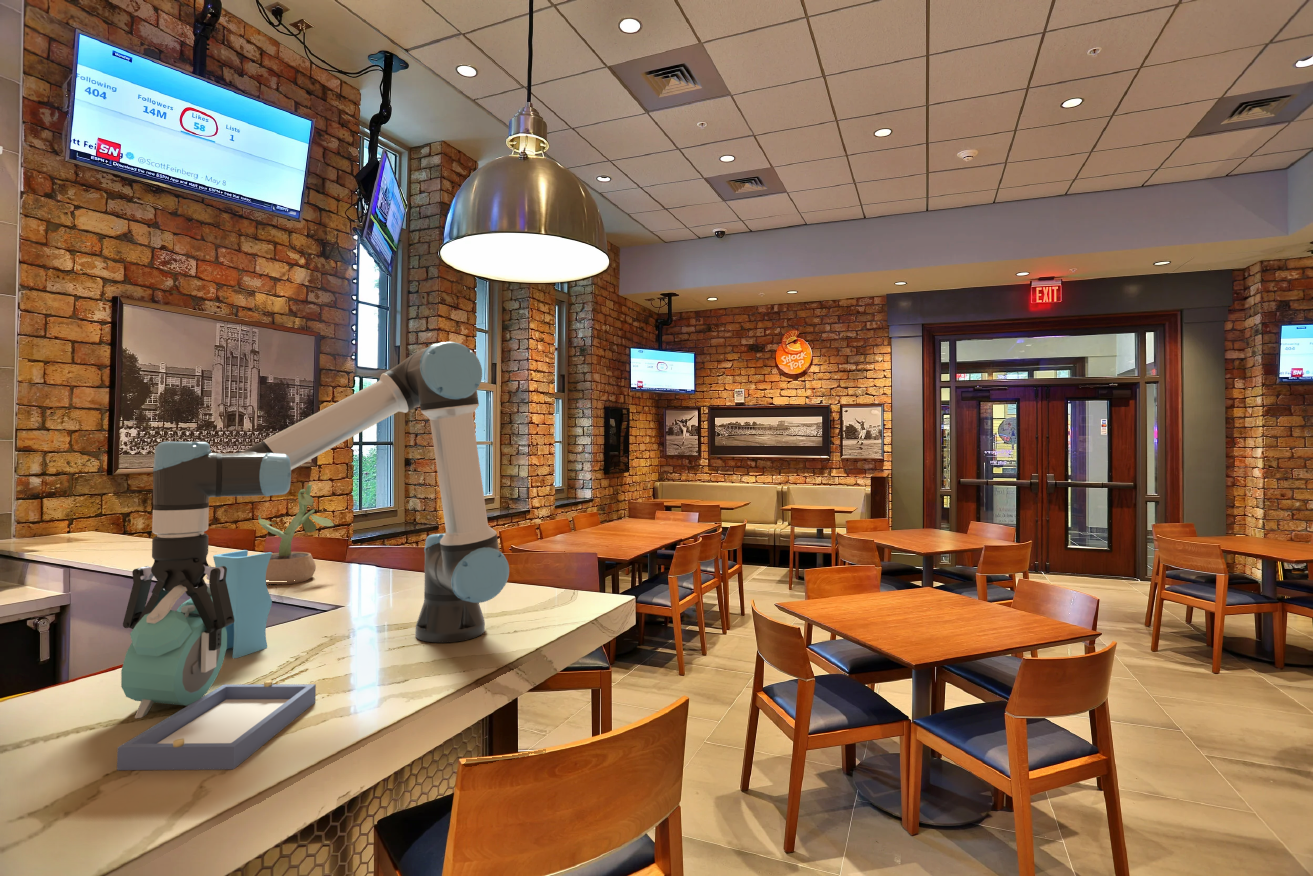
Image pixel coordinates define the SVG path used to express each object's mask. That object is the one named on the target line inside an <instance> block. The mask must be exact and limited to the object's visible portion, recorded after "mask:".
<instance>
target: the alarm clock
mask: <svg viewBox="0 0 1313 876" xmlns="http://www.w3.org/2000/svg"><path fill="white" fill-rule="evenodd" d="M206 585H207V587H208V588H207V592H208V594H209V596H210V598H211V599H212V595H211V591H210V586H209V584H207V583H206ZM197 587H199V586H198V585H197ZM197 587H194V588H197ZM186 591H187V589H186V587H183V586H182V585H178V586H176V587H174V588H173V589H172V590H171V591H170V592H169V593H168V594H167V595H166V596H165V597H164V598H163V599H162V600H161V601H160V602H159V604H158V605H157V606H156V607H155V609H154V610H153V611H152V612H151V613H149V614H146V615H144V616H143V618H142V619H141V620H140V621H139V622H138V623H137V624H136V626H135V627H134V629H131V632H130V633H129V635H130V639H131V643H130V646H129V647H128V649H127V651H126V653H125V657H124V660H123V664H122V667H121V671H120V672H121V673H120V675H121V677H120V678H121V679H120V680H121V682H120V683H121V686H120V687H121V689H122V691H123V693H124V695H125V698H128V699H130V700H133V701H136V702H140V703H139V706H138V709H137V711H136V713H135V715H134V719H141V718H143V717H145V716H146V715H148V713H149V711H150V709H151V707H152V706H153V705H154V703H155V704H167V705H176V706H185V707H187V706H188V705H190V704H192V703H193V702H195V701H197V700H199V699H200V698H202V697H204V696H205V694H206V695H207V694H208V691H209V690H210V688H211V687H212V686H213V684H214V682H215V681H216V680H217V677H218V675H219V674H220V671H221V669H222V666H223V664H224V660H225V657H226V656H225V655H226V652H227V650H228V649H227V631H226V628H225V627H224V628H222V635H221V647H220V648H219V649H217V654H216V667H215V668H213V669H211V670H209V671H207V672H201V640H202V632H204V631H206V630H207V629H206V627H205V625H204V623H203V621H202V619H201V617H200V615H199V613H198V611H197V609H196V607H195V605H194V603H193V601H192V599H191V597H190V598H189V599H187V600H186V601H184V602H183V603H181V604H180V605H179V606H178V608H177V609H176V610H173V609H172V608H173V607H174V605H175V603H176V602H177V600H178V599H179V598H181V597H182V596H183V595H184V593H185V594H186ZM212 601H213V600H212Z"/></svg>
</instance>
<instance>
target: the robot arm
mask: <svg viewBox="0 0 1313 876" xmlns="http://www.w3.org/2000/svg"><path fill="white" fill-rule="evenodd" d="M482 378H483V369H482V364H481V362H480V359H479V358H478V356H477V355H476V353H475V352H473V351H472V350H471V349H470V348H469V347H468V346H466V345H464V344H462V343H459V342H454V341H446V342H445V341H441V342H436V343H434V344H431V345H429V346H428V347H426V348H422V349H420V350H418V351H416V352H414V353H413V354H411V355H410V356H409V357H407V358H406V359H405V360H402V362H400V363H399V364H397V365H395V366H394V367H392V368H391V369H389V370H387V371H385V372H383V373H382V374H381V375H380V377H379V380H378V381H376V382H374V383H372V384H370V385H368V386H367V387H365V388H361V390H359V391H356V392H355V393H353V394H351V395H348V396H347V397H344V398H343V399H341V400H340V401H337V402H336V403H334V404H332V405H329V406H327V407H326V408H323V409H322V410H319V411H318V412H316V413H314V414H312V415H309V416H307V418H306V417H305V418H304V419H302V420H300V421H299V422H297V423H294V424H293V425H290V426H288V427H287V428H285V429H283V430H281V431H279V432H277V433H275V434H273V435H271V436H269V437H267V438H266V439H264V440H262V441H260V442H258V443H256V444H254V445H251V446H250V447H248V448H246V449H245V450H242V451H238V452H235V453H221V452H220V453H219V452H218V453H217V452H212V449H211V445H210V444H209V443H208V442H206V441H162V442H160V443H158V444H157V445H156V446H155V448H154V457H153V459H154V460H153V469H152V507H153V508H152V523H151V524H152V527H151V533H153V534H155V535H156V536H153V538H152V541H151V544H152V545H151V558H152V559H153V560H154V561H153V564H152V566H149V565H146V566H141V567H137V568H134V569H133V570H132V571H131V572H132V574H131V575H132V580H133V581H132V582H133V583H132V588H131V592H130V595H129V598H128V604H127V606H126V611H125V614H124V617H123V622H122V626H123V628H124V629H131V630H133V629H134V627H135V626H136V624H137V623H138V622H139V621H140V620H141V619H142V618H143V616H144V615H146V614H149V613H151V612H152V611H153V610H154V609H155V607H156V606H157V605H158V604H159V602H160V601H161V600H162V599H163V598H164V597H165V596H166V595H167V594H168V593H169V592H170V591H171V590H172V589H173V588H174V587H176V586H178V585H182V586H183V587H186V589H187V591H186V592H185V594H186V595H187V596H188V597H190V598H191V599H192V601H193V603H194V605H195V607H196V609H197V611H198V613H199V615H200V617H201V619H202V621H203V623H204V625H205V627H206V629H207V630H206V631H204V632H202V640H201V672H207V671H209V670H211V669H213V668H215V667H216V654H217V649H219V648H220V647H221V635H222V628H224V627H226V626H228V625H230V624H232V623H234V615H233V611H232V606H231V602H230V597H229V593H228V588H227V584H226V574H227V568H226V567H225V566H221V567H215V566H209V563H208V561H207V557H208V554H209V535H208V533H205V532H206V531H208V530H209V514H210V512H209V511H210V502H209V501H210V498H221V497H257V496H258V497H259V496H260V497H263V496H265V497H270V496H271V497H272V496H279V495H280V496H281V495H286V494H287V493H288V492H289V491H290V489H291V482H292V481H291V480H292V470H294V469H296V468H297V467H300V466H301V465H303V464H305V463H307V462H308V461H310V460H312V459H314V458H315V457H317V456H320V455H321V454H323V453H325V452H327V451H329V450H331V449H332V448H334V447H336V446H338V445H340V444H342V443H343V442H345V441H347V440H349V439H351V438H353V437H355V436H357V435H358V434H360V433H362V432H363V431H365V430H367V429H369V428H371V427H373V426H374V425H376V424H378V423H380V422H382V421H384V420H386V419H388V418H390V417H391V416H393V415H394V414H396V413H399V412H401V413H405V414H407V413H408V412H410V411H412V410H413V409H414V410H415V409H416V408H417V407H419V408H420V412H421V413H422V414H423V415H424V416H425V417H427V418H428V419H429V423H430V430H431V437H432V442H433V443H432V444H433V451H434V458H435V464H436V471H437V479H438V485H439V486H438V487H439V491H440V498H441V499H440V500H441V505H442V513H443V520H444V528H445V532H444V533H434V534H430V535H428V536H427V537H426V539H425V543H424V544H425V545H424V549H423V551H424V592H423V593H424V597H423V604H422V606H421V610H420V612H419V616H418V618H417V621H416V624H415V631H414V632H415V634H414V636H415V638H417V640H420V641H423V642H426V643H427V642H429V643H440V644H441V643H455V642H456V643H457V642H463V641H467V640H471V639H475V638H477V637H480V636H482V635H483V634H484V633H485V631H486V627H485V626H486V625H485V624H486V621H485V617H484V615H483V611H482V609H481V605H480V604H482V603H485V602H489V601H491V600H492V599H494V598H495V597H497V596H498V595H499V594H500V593H501V591H502V590H503V589H504V588H505V587H506V584H507V582H508V579H509V576H510V564H509V562H508V560H507V558H506V556H505V555H504V554H503V552H502V551H500V548H499V540H498V539H499V538H498V535H497V534H498V533H497V531H496V530H495V529H493V528H492V527H491V526H490V525H489V523H488V517H487V516H488V515H487V507H486V502H485V501H486V500H485V493H484V486H483V480H482V478H483V477H482V471H481V465H480V458H479V451H478V450H479V449H478V443H477V437H476V436H477V435H476V431H475V430H476V429H475V421H474V413H475V411H476V410H477V408H478V407H479V406H480V403H479V396H478V389H479V387H480V385H481V383H482ZM204 577H206V580H208V582H209V583H208V584H207V583H206V581H205V579H204ZM153 578H155V579H156V583H155V585H154V587H153V588H152V590H151V585H152V580H153ZM206 584H207V585H209V586H210V591H211V595H212V599H211V598H210V596H209V594H208V592H207V588H208V587H207V585H206ZM197 585H198V586H199V587H197ZM194 587H196V588H194ZM150 590H151V596H150V598H149V599H148V597H149V593H150ZM147 600H148V601H147ZM212 600H213V601H212Z"/></svg>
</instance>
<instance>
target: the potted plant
mask: <svg viewBox="0 0 1313 876" xmlns="http://www.w3.org/2000/svg"><path fill="white" fill-rule="evenodd" d="M312 486H313V484H307V485H306V489H304V488H303V489H300V490H299V491H298V493H297V499H298V512H297V513H296V515H295V516H294V517H293V518H292V519H291V522H290V524H288V526H287V527H286V529H285V530H284V532H283V531H281V530H280V529H278V528H275V527H273V526H271V525H275V524H277V523H276V522H277V521H276V522H271V521H269V520H266V519H263V518H261V514H259V515H258V517H257V519H258V523H259V524H260V526H261V527H262V528H263V529H265V530H266V532H269V533H270V534H272V535H276V536H278V537H280V538H281V540H280V542H279V547H278V552H274V553H273V552H272V555H271V558H270V560H269V563H268V566H267V570H266V580H269V581H287V582H266V584H282V585H291V584H292V585H293V584H299V583H303V582H306V581H308V580H309V579H311V578H312V577H313V576H314V574H315V572H316V566H317V565H316V563H315V560H314V558H313V555H312V554H311V552H306V551H305V552H304V551H292V541H293V539H294V535H295V532H296V530H297V529H298V528H299V527H300V526H301V525H302V527H303V529H304V533H305V534H307V533H314V532H315V531H316V529H318V528H317V524H319V525H321V526H324V527H334V526H336V524H335V523H334V522H333V521H332V520H331V519H329V518H326V517H321V516H317V515H314V513H315V511H316V510H315V509H314V508H313V509H311V510H310V511H309V512H307V509H308V506H310V507H313V505H314V503H315V500H314V498H313V496H311V492H312V488H313V487H312ZM306 512H307V513H306ZM310 517H311V518H310ZM315 523H316V524H315ZM294 580H295V581H294Z"/></svg>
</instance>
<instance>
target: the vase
mask: <svg viewBox="0 0 1313 876" xmlns="http://www.w3.org/2000/svg"><path fill="white" fill-rule="evenodd" d="M272 554H273V552H271V551H269V552H263V553H257V554H251V555H249V551H248V550H247V549H243V550H237V551H231V552H225V553H224V552H223V553H219V554H214V555H213V556H212V558H213V562H214V567H221V566H225V567H226V568H227V574H226V584H227V588H228V593H229V597H230V602H231V606H232V611H233V615H234V623H232V624H230V625H228V626H226V627H225V628H226V631H227V649H226V650H228V649H233V650H232V659H238V658H241V657H244V656H248V655H250V654H254V653H256V652H259V651H263V650H265V649H267V648H268V642H267V636H266V635H267V633H266V631H267V630H266V628H267V621H268V618H269V615H270V614H269V613H270V611H271V608H272V605H273V599H272V597H271V595H270V593H269V590H268V587H267V586H268V585H266V570H267V566H268V563H269V560H270V558H271V555H272Z"/></svg>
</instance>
